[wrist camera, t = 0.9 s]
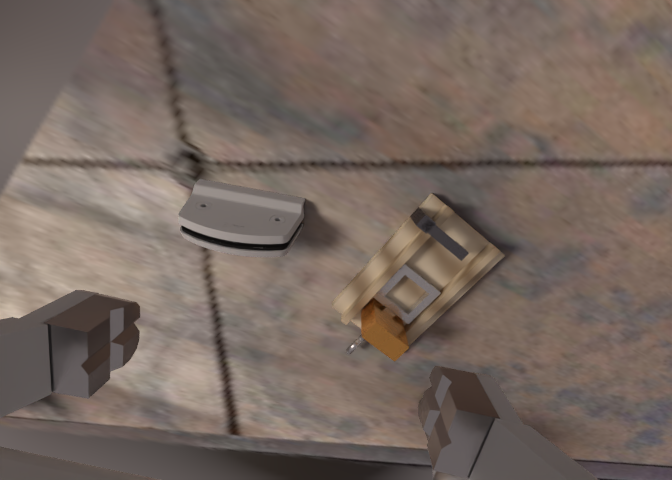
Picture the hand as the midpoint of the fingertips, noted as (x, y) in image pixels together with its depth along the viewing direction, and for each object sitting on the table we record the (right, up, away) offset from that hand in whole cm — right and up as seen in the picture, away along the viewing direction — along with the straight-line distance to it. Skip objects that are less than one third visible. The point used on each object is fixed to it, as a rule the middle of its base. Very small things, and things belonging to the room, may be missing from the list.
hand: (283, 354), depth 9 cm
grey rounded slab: (-12, +7, +40) cm, 42 cm away
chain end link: (+9, -9, +42) cm, 43 cm away
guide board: (+13, -3, +41) cm, 43 cm away
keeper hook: (+16, +5, +37) cm, 40 cm away
